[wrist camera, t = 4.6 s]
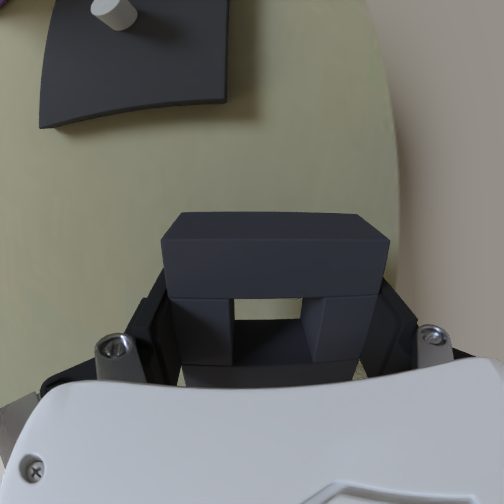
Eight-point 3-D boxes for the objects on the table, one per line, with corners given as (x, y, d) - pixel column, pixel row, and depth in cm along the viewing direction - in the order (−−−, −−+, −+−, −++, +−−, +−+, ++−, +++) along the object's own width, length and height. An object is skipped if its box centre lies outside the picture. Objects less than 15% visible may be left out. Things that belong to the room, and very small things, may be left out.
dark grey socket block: (357, 213, 11) (391, 240, 8) (333, 346, 13) (348, 389, 11) (181, 212, 11) (159, 239, 8) (196, 349, 13) (187, 395, 11)
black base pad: (231, -46, 9) (231, -82, 5) (226, 103, 13) (222, 90, 9) (71, -12, 8) (42, -32, 5) (52, 128, 13) (11, 131, 9)
